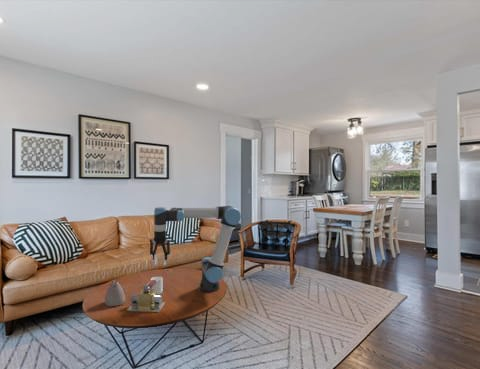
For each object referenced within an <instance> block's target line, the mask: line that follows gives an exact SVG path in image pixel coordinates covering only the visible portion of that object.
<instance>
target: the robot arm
mask: <svg viewBox="0 0 480 369" xmlns="http://www.w3.org/2000/svg"><path fill="white" fill-rule="evenodd" d="M153 212H154V215H153V218H154V220H153V222H154V226H153V228H154V232H153V234H154V235H153V238H151V239H149V244H150V247H149V255H152V260H153V265H154V266H156V265H157V262H158V260H157V258H158V257H157V256H158V255H157V250H158V246H159V245H161V248H162V250H163V266H166V265H167V260H168V255H170V254H171V239H168V238H167V231H166V230H167V228H166V227H167V222H182V221H183V222H184V220H185V219H215V220H220V225H221V227H220V229H219V234H218V236H217V239H216V243H215V245H214V248H213V251H212V255H211V256H207V257H203V258H202V259H201V279H200V283H199V286H198V287H199V290H200V291H202V292H206V293H210V292H211V293H212V292H216V291H218V290H219V289H220V281H221V280H222V278H223V277H224V273H223V269H224V267H225V263H224V260H225V256H226V253H227V251H228V250H227V249H228V247H229V243H230V240H231V237H232V233H233V230H235V229H236V228H237V225H238V224H239V223H240V221H241V219H242V215H241V212H240V210H239V209H238V208H236V207H233V206H231V205H222V206H215V207H171V208H170V209H169V210H168V209H167V208H166V207H163V206H159V207H155V208H154V211H153Z"/></svg>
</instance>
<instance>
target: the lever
mask: <svg viewBox="0 0 480 369" xmlns="http://www.w3.org/2000/svg"><path fill="white" fill-rule="evenodd" d="M149 282H150V283H149ZM149 282H148V283H149V284H148V283H147V284H148V286H146V285H145V286H142V287H143V288H142V290H143V292H145V293H146V292H150V289H151V288H152V287H153V286H154V285H155V284H156V280H152V281H151V280H150V281H149Z"/></svg>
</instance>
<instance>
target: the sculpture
mask: <svg viewBox="0 0 480 369" xmlns="http://www.w3.org/2000/svg"><path fill="white" fill-rule="evenodd" d="M124 292H125V291H124V290H123V288H122V286H121V284H120V283H119V281H115V280H114V279H113V280H112V281H111V283H110V284H109V286H108V288H107V291H106V292H105V293H106V294H105V297H104V303H105V305H106V307H111V308H113V307H119V306H122V305H124V304H125V301H126V295H125V293H124Z"/></svg>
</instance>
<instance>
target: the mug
mask: <svg viewBox="0 0 480 369" xmlns="http://www.w3.org/2000/svg"><path fill="white" fill-rule="evenodd" d="M152 280H156V284H155V285H154V286H153V287H152V288H151V289H155V294H156V295H162V294H163V286H164V285H163V283H164V281H163V277H162V276H154V277H151V278H150V281H149V282H147V284H146V285H145V286H148V284H149V283H150V282H151V281H152Z"/></svg>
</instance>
